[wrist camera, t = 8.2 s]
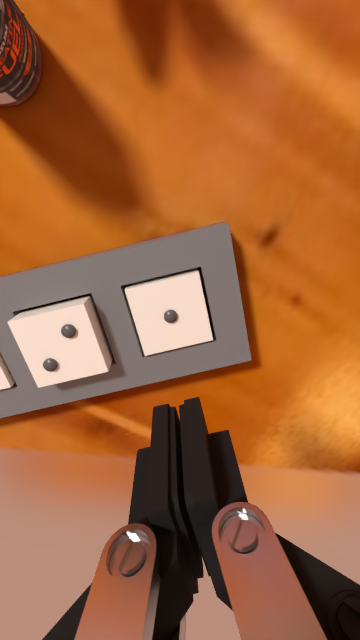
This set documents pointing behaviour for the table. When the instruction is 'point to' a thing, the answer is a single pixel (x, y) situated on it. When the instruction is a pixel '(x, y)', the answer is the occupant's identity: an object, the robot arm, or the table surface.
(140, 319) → the tile
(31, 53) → the supplement bottle
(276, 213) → the table surface
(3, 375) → the tile
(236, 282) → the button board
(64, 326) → the tile
